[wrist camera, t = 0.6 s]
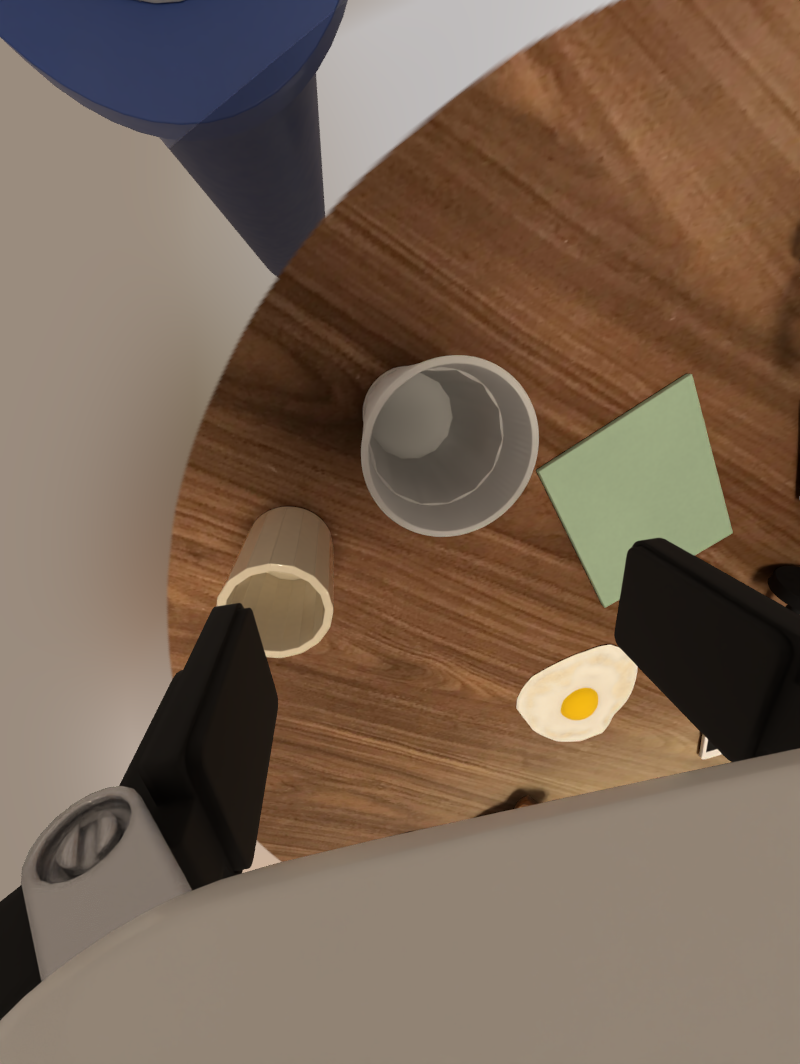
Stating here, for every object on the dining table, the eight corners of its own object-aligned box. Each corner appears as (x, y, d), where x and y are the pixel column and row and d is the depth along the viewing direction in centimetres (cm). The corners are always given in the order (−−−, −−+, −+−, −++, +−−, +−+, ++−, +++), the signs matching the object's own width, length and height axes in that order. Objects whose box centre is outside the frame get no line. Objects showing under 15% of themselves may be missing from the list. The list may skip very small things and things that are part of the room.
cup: (369, 334, 26) (394, 324, 15) (479, 375, 28) (569, 391, 17) (337, 452, 29) (339, 514, 18) (439, 481, 31) (496, 553, 20)
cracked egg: (660, 697, 45) (670, 707, 44) (559, 758, 47) (565, 769, 46) (613, 623, 40) (623, 632, 38) (501, 696, 42) (506, 707, 40)
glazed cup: (228, 537, 30) (190, 605, 22) (297, 489, 30) (284, 543, 22) (284, 594, 33) (268, 674, 25) (349, 552, 32) (354, 620, 24)
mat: (535, 470, 32) (538, 471, 31) (686, 373, 30) (692, 373, 30) (601, 605, 39) (605, 608, 38) (728, 530, 37) (733, 533, 37)
